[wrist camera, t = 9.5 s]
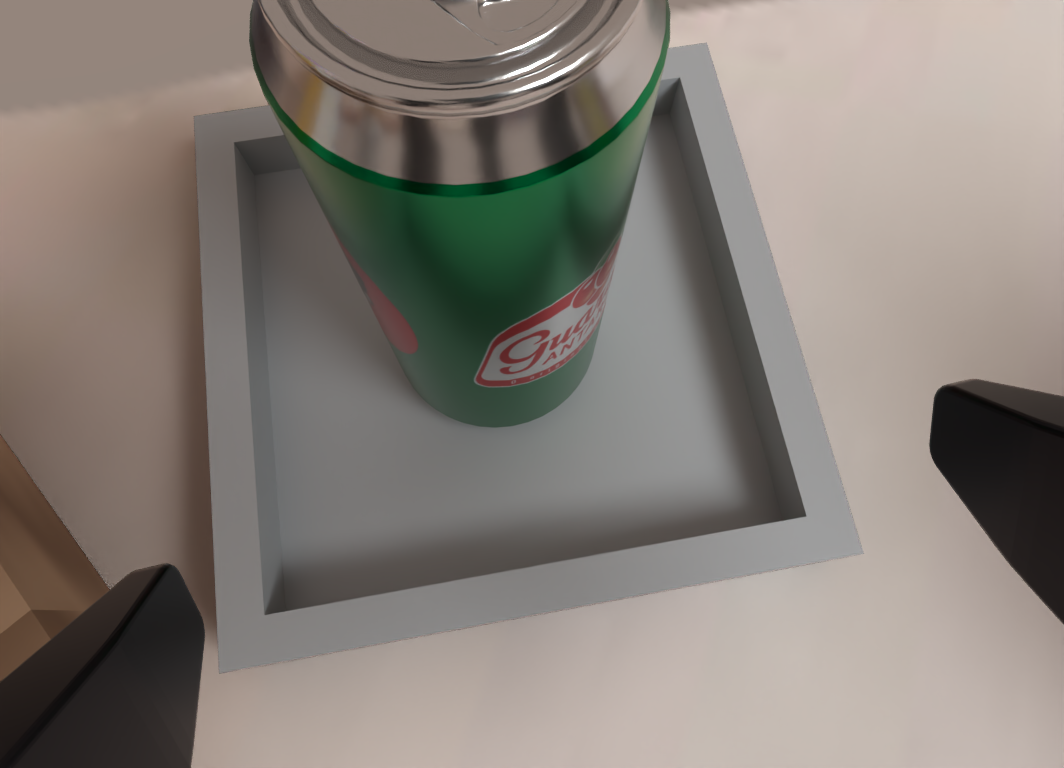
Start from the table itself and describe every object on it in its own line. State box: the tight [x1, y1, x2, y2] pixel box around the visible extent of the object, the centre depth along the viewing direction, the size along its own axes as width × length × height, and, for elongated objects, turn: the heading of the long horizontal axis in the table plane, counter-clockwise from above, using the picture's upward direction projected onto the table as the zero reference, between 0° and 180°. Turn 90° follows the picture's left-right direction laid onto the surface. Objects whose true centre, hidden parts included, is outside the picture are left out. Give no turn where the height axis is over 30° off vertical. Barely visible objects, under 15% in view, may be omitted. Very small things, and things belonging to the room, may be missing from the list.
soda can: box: [249, 0, 670, 428], centre depth 14 cm, size 5×5×12 cm
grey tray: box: [194, 43, 864, 674], centre depth 19 cm, size 14×14×2 cm
